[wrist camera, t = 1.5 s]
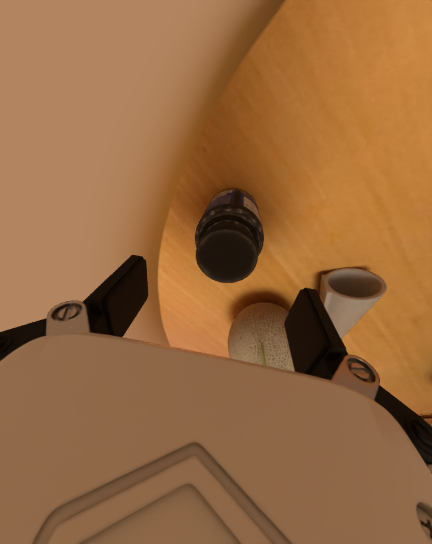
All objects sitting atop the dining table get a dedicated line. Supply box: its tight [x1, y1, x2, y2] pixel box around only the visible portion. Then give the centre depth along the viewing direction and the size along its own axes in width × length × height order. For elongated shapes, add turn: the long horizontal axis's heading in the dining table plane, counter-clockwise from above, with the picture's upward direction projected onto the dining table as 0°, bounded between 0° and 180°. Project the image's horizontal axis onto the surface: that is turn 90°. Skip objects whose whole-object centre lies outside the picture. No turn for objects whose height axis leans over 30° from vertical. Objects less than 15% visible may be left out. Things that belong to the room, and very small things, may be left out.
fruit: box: [228, 302, 295, 372], centre depth 26 cm, size 10×12×15 cm
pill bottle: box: [195, 189, 264, 283], centre depth 19 cm, size 6×6×11 cm
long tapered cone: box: [319, 268, 387, 339], centre depth 29 cm, size 6×6×19 cm
